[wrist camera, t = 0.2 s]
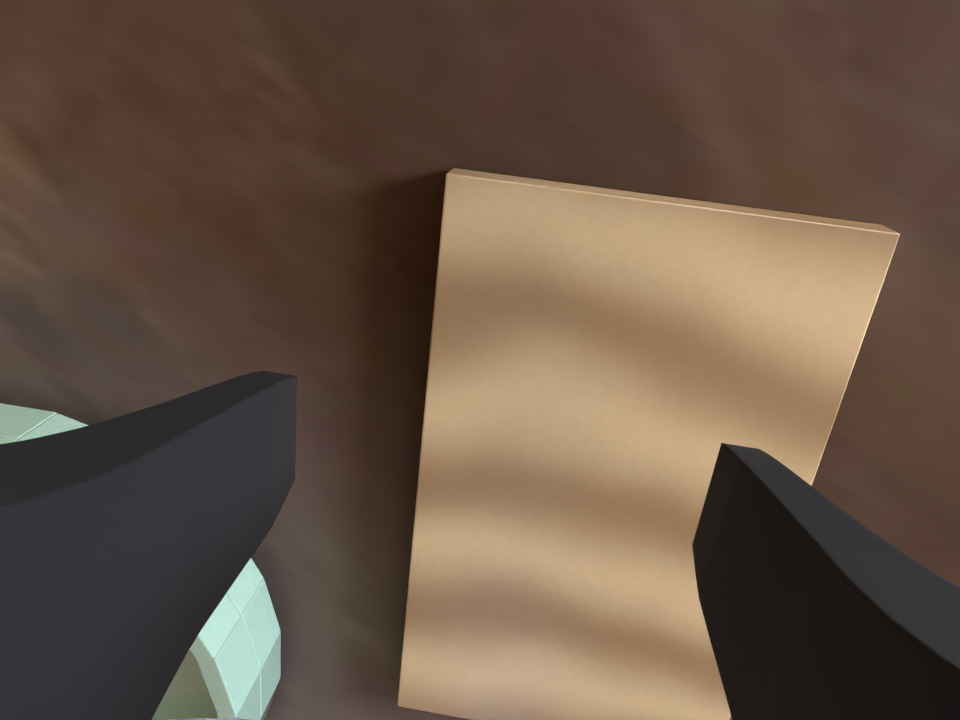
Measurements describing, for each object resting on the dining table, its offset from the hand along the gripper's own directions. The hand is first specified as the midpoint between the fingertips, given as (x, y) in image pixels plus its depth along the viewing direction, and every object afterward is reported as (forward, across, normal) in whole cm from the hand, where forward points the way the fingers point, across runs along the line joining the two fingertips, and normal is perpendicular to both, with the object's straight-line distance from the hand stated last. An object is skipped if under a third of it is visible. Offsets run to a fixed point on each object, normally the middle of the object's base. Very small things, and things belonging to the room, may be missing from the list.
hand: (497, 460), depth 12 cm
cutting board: (+10, -3, +7) cm, 12 cm away
